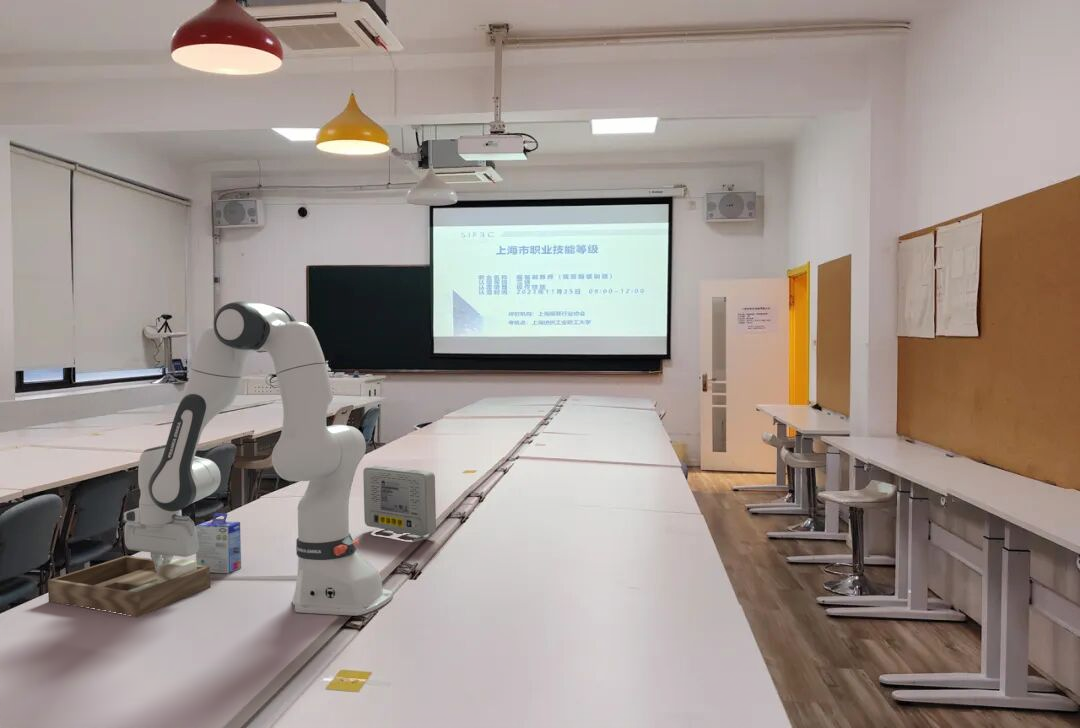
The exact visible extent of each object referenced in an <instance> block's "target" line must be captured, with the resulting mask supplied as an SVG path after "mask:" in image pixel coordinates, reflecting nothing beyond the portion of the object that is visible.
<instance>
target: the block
mask: <svg viewBox="0 0 1080 728" xmlns="http://www.w3.org/2000/svg"><path fill="white" fill-rule="evenodd" d="M195 570H197V561H196V560H192V559H186V558H185V559H184V558H176V559H172V560H171V561H169V562H166V563H163V564H160V565H158V566H157V583H163V582H165V581H168V580H171V579H173V578H176V577H179V576H182V575H184V574H187V573H190V572H192V571H195Z"/></svg>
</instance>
